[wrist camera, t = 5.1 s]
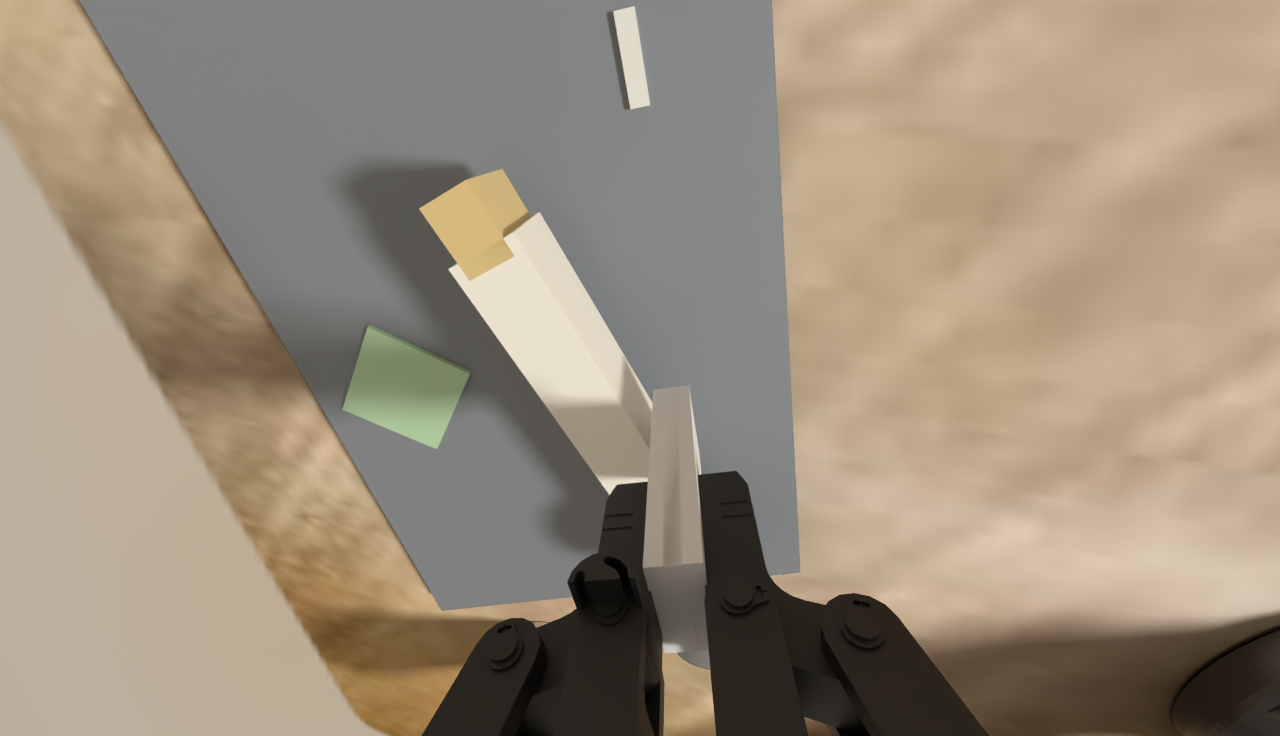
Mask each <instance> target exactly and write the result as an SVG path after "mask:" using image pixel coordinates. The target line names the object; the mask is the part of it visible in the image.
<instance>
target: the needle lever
mask: <svg viewBox="0 0 1280 736" xmlns="http://www.w3.org/2000/svg"><path fill="white" fill-rule="evenodd" d="M419 210H420V211H421V212H422V214H423V215H424V217H425V218H426V220H427V221H428V222H429V224H430V225H431V227H432V228H433V230H434V231H435V232H436V234H437V235H438V237H439V238H440V240H441V241H442V242H443V244H444V245H445V247H446V248H447V250H448V251H449V252H450V254H451V255H452V257H453V258H454V259H455V261H456V262H457V263H456V264H455V265H453V266H452V267H451V268H449V269H448V270H449V271H450V272H451V274H452V275H453V277H454V278H455V279H456V281H457V282H458V284H459V285H460V286H461V288H462V289H463V291H464V292H465V293H466V295H467V296H468V298H469V299H470V300H471V302H472V303H473V305H474V306H475V307H476V309H477V310H478V312H479V313H480V314H481V316H482V317H483V319H484V320H485V321H486V323H487V324H488V326H489V327H490V328H491V330H492V331H493V333H494V334H495V335H496V337H497V338H498V340H499V341H500V342H501V344H502V345H503V347H504V348H505V349H506V351H507V352H508V354H509V355H510V356H511V358H512V359H513V361H514V362H515V363H516V365H517V366H518V368H519V369H520V370H521V372H522V373H523V375H524V376H525V377H526V379H527V380H528V382H529V383H530V384H531V386H532V387H533V389H534V390H535V391H536V393H537V394H538V396H539V397H540V398H541V400H542V401H543V403H544V404H545V405H546V407H547V408H548V410H549V411H550V412H551V414H552V415H553V417H554V418H555V419H556V421H557V422H558V424H559V425H560V426H561V428H562V429H563V431H564V432H565V433H566V435H567V436H568V438H569V439H570V440H571V442H572V443H573V445H574V446H575V447H576V449H577V450H578V452H579V453H580V454H581V456H582V457H583V459H584V460H585V461H586V463H587V464H588V466H589V467H590V468H591V470H592V471H593V473H594V474H595V475H596V477H597V478H598V480H599V481H600V482H601V484H602V485H603V487H604V488H605V489H606V491H607V492H608V494H609V495H610V494H611V492H612V491H613V489H614V488H615V486H616V485H618V484H628V483H638V482H648V470H649V454H650V437H651V420H652V401H651V399H650V398H649V396H648V394H647V393H646V391H645V389H644V388H643V386H642V384H641V383H640V381H639V379H638V378H637V376H636V374H635V372H634V371H633V369H632V367H631V366H630V364H629V362H628V361H627V359H626V357H625V356H624V354H623V352H622V350H621V349H620V347H619V345H618V344H617V342H616V340H615V339H614V337H613V335H612V334H611V332H610V330H609V328H608V327H607V325H606V323H605V322H604V320H603V318H602V317H601V315H600V313H599V312H598V310H597V308H596V307H595V305H594V303H593V301H592V300H591V298H590V296H589V295H588V293H587V291H586V290H585V288H584V286H583V285H582V283H581V281H580V279H579V278H578V276H577V274H576V273H575V271H574V269H573V268H572V266H571V264H570V263H569V261H568V259H567V257H566V256H565V254H564V252H563V251H562V249H561V247H560V246H559V244H558V242H557V241H556V239H555V237H554V236H553V234H552V232H551V230H550V229H549V227H548V225H547V224H546V222H545V220H544V219H543V217H542V215H541V214H540V212H538V213H536V214H535V215H533V216H531V215H530V214H529V212H528V210H527V209H526V207H525V205H524V204H523V202H522V200H521V199H520V197H519V196H518V194H517V192H516V191H515V189H514V187H513V186H512V184H511V182H510V181H509V179H508V177H507V176H506V174H505V172H504V171H503V169H500V170H497V171H493V172H490V173H487V174H483V175H480V176H477V177H474V178H470V179H467V180H465V181H463V182H461V183H460V184H458V185H457V186H455V187H453V188H452V189H450V190H448V191H447V192H445V193H444V194H442V195H440V196H439V197H437V198H435V199H434V200H432V201H431V202H429V203H427V204H426V205H424V206H422V207H421V208H419ZM677 654H678V655H679V656H680V657H681V658H682V659H684V660H685V661H687V662H688V663H690V664H692V665H694V666H697V667H700V668H704V669H708V670H710V659H709V650H707V651H700V652H681V653H677Z"/></svg>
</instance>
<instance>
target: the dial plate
mask: <svg viewBox="0 0 1280 736" xmlns="http://www.w3.org/2000/svg"><path fill="white" fill-rule="evenodd" d="M79 1H80V3H81V5H82V6H83V8H84V10H85V11H86V13H87V15H88V16H89V18H90V20H91V21H92V23H93V25H94V26H95V28H96V30H97V31H98V33H99V35H100V37H101V38H102V40H103V42H104V43H105V45H106V47H107V48H108V50H109V52H110V53H111V55H112V57H113V58H114V60H115V62H116V63H117V65H118V67H119V68H120V70H121V72H122V74H123V75H124V77H125V79H126V80H127V82H128V84H129V85H130V87H131V89H132V90H133V92H134V94H135V95H136V97H137V99H138V100H139V102H140V104H141V105H142V107H143V109H144V111H145V112H146V114H147V116H148V117H149V119H150V121H151V122H152V124H153V126H154V127H155V129H156V131H157V132H158V134H159V136H160V137H161V139H162V141H163V142H164V144H165V146H166V148H167V149H168V151H169V153H170V154H171V156H172V158H173V159H174V161H175V163H176V164H177V166H178V168H179V169H180V171H181V173H182V174H183V176H184V178H185V179H186V181H187V183H188V185H189V186H190V188H191V190H192V191H193V193H194V195H195V196H196V198H197V200H198V201H199V203H200V205H201V206H202V208H203V210H204V211H205V213H206V215H207V216H208V218H209V220H210V222H211V223H212V225H213V227H214V228H215V230H216V232H217V233H218V235H219V237H220V238H221V240H222V242H223V243H224V245H225V247H226V248H227V250H228V252H229V253H230V255H231V257H232V259H233V260H234V262H235V264H236V265H237V267H238V269H239V270H240V272H241V274H242V275H243V277H244V279H245V280H246V282H247V284H248V285H249V287H250V289H251V291H252V292H253V294H254V296H255V297H256V299H257V301H258V302H259V304H260V306H261V307H262V309H263V311H264V312H265V314H266V316H267V317H268V319H269V321H270V322H271V324H272V326H273V328H274V329H275V331H276V333H277V334H278V336H279V338H280V339H281V341H282V343H283V344H284V346H285V348H286V349H287V351H288V353H289V354H290V356H291V358H292V359H293V361H294V363H295V365H296V366H297V368H298V370H299V371H300V373H301V375H302V376H303V378H304V380H305V381H306V383H307V385H308V386H309V388H310V390H311V391H312V393H313V395H314V396H315V398H316V400H317V402H318V403H319V405H320V407H321V408H322V410H323V412H324V413H325V415H326V417H327V418H328V420H329V422H330V423H331V425H332V427H333V428H334V430H335V432H336V433H337V435H338V437H339V439H340V440H341V442H342V444H343V445H344V447H345V449H346V450H347V452H348V454H349V455H350V457H351V459H352V460H353V462H354V464H355V465H356V467H357V469H358V470H359V472H360V474H361V476H362V477H363V479H364V481H365V482H366V484H367V486H368V487H369V489H370V491H371V492H372V494H373V496H374V497H375V499H376V501H377V502H378V504H379V506H380V507H381V509H382V511H383V513H384V514H385V516H386V518H387V519H388V521H389V523H390V524H391V526H392V528H393V529H394V531H395V533H396V534H397V536H398V538H399V539H400V541H401V543H402V544H403V546H404V548H405V550H406V551H407V553H408V555H409V556H410V558H411V560H412V561H413V563H414V565H415V566H416V568H417V570H418V571H419V573H420V575H421V576H422V578H423V580H424V581H425V583H426V585H427V587H428V588H429V590H430V592H431V593H432V595H433V597H434V598H435V600H436V602H437V603H438V605H439V607H440V608H441V610H442V611H444V610H453V609H462V608H472V607H481V606H490V605H500V604H509V603H518V602H528V601H537V600H546V599H556V598H565V597H572V594H571V591H570V589H569V586H568V583H567V581H568V579H569V577H570V574H571V572H572V570H573V569H574V568H575V567H576V566H577V565H578V564H579V563H580V562H581V561H582V560H584V559H585V558H587V557H589V556H591V555H592V554H596V553H598V550H599V544H600V538H601V532H602V525H603V519H604V513H605V507H606V501H607V498H608V497H609V494H608V492H607V491H606V489H605V488H604V487H603V485H602V484H601V482H600V481H599V480H598V478H597V477H596V475H595V474H594V473H593V471H592V470H591V468H590V467H589V466H588V464H587V463H586V461H585V460H584V459H583V457H582V456H581V454H580V453H579V452H578V450H577V449H576V447H575V446H574V445H573V443H572V442H571V440H570V439H569V438H568V436H567V435H566V433H565V432H564V431H563V429H562V428H561V426H560V425H559V424H558V422H557V421H556V419H555V418H554V417H553V415H552V414H551V412H550V411H549V410H548V408H547V407H546V405H545V404H544V403H543V401H542V400H541V398H540V397H539V396H538V394H537V393H536V391H535V390H534V389H533V387H532V386H531V384H530V383H529V382H528V380H527V379H526V377H525V376H524V375H523V373H522V372H521V370H520V369H519V368H518V366H517V365H516V363H515V362H514V361H513V359H512V358H511V356H510V355H509V354H508V352H507V351H506V349H505V348H504V347H503V345H502V344H501V342H500V341H499V340H498V338H497V337H496V335H495V334H494V333H493V331H492V330H491V328H490V327H489V326H488V324H487V323H486V321H485V320H484V319H483V317H482V316H481V314H480V313H479V312H478V310H477V309H476V307H475V306H474V305H473V303H472V302H471V300H470V299H469V298H468V296H467V295H466V293H465V292H464V291H463V289H462V288H461V286H460V285H459V284H458V282H457V281H456V279H455V278H454V277H453V275H452V274H451V272H450V271H449V270H448V269H449V268H451V267H452V266H453V265H455V264H456V263H457V262H456V261H455V259H454V258H453V257H452V255H451V254H450V252H449V251H448V250H447V248H446V247H445V245H444V244H443V242H442V241H441V240H440V238H439V237H438V235H437V234H436V232H435V231H434V230H433V228H432V227H431V225H430V224H429V222H428V221H427V220H426V218H425V217H424V215H423V214H422V212H421V211H420V210H419V208H421V207H422V206H424V205H426V204H427V203H429V202H431V201H432V200H434V199H435V198H437V197H439V196H440V195H442V194H444V193H445V192H447V191H448V190H450V189H452V188H453V187H455V186H457V185H458V184H460V183H461V182H463V181H465V180H467V179H470V178H474V177H477V176H480V175H483V174H487V173H490V172H493V171H497V170H500V169H503V171H504V172H505V174H506V176H507V177H508V179H509V181H510V182H511V184H512V186H513V187H514V189H515V191H516V192H517V194H518V196H519V197H520V199H521V200H522V202H523V204H524V205H525V207H526V209H527V210H528V212H529V214H530V215H531V216H533V215H535V214H536V213H538V212H540V214H541V215H542V217H543V219H544V220H545V222H546V224H547V225H548V227H549V229H550V230H551V232H552V234H553V236H554V237H555V239H556V241H557V242H558V244H559V246H560V247H561V249H562V251H563V252H564V254H565V256H566V257H567V259H568V261H569V263H570V264H571V266H572V268H573V269H574V271H575V273H576V274H577V276H578V278H579V279H580V281H581V283H582V285H583V286H584V288H585V290H586V291H587V293H588V295H589V296H590V298H591V300H592V301H593V303H594V305H595V307H596V308H597V310H598V312H599V313H600V315H601V317H602V318H603V320H604V322H605V323H606V325H607V327H608V328H609V330H610V332H611V334H612V335H613V337H614V339H615V340H616V342H617V344H618V345H619V347H620V349H621V350H622V352H623V354H624V356H625V357H626V359H627V361H628V362H629V364H630V366H631V367H632V369H633V371H634V372H635V374H636V376H637V378H638V379H639V381H640V383H641V384H642V386H643V388H644V389H645V391H646V393H647V394H648V396H649V398H650V399H651V401H652V403H653V390H656V389H664V388H670V387H677V386H685V385H689V389H690V395H691V402H692V408H693V415H694V421H695V428H696V434H697V441H698V447H699V454H700V464H701V474H710V473H719V472H729V471H737V472H738V473H739V474H740V475H741V477H742V478H743V479H744V480H745V481H746V482H747V484H748V487H749V492H750V497H751V502H752V506H753V510H754V516H755V520H756V524H757V529H758V533H759V538H760V542H761V547H762V552H763V556H764V561H765V565H766V569H767V571H768V574H769V576H770V575H780V574H789V573H798V572H800V556H799V536H798V516H797V496H796V476H795V456H794V436H793V416H792V396H791V376H790V356H789V336H788V316H787V296H786V276H785V256H784V236H783V216H782V196H781V176H780V156H779V136H778V116H777V96H776V76H775V56H774V36H773V16H772V0H79Z"/></svg>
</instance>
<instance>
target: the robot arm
mask: <svg viewBox="0 0 1280 736" xmlns="http://www.w3.org/2000/svg"><path fill="white" fill-rule="evenodd" d="M567 583H568V586H569V589H570V591H571V594H572V597H573V599H574V602H575V605H576V607H577V609H575V610H574V611H573V612H571V613H570V614H568V615H566V616H564V617H562V618H560V619H557V620H555V621H552V622H550V623H547V624H545V625H542V626H540V627H537V628H536V627H535V625H534V624H533V623H532V622H530V621H528V620H526V619H524V618H511V619H508V620H505V621H503V622H500V623H498V624H496V625H495V626H494V627H492V628H491V629H490V630H488V631H487V632H486V633H485V634H484V636H483V637H482V638H481V639H480V641H479V642H478V643H477V644H476V646H475V648H474V649H473V651H472V653H471V654H470V656H469V658H468V659H467V661H466V663H465V664H464V666H463V668H462V669H461V671H460V673H459V674H458V676H457V678H456V679H455V681H454V683H453V684H452V686H451V688H450V690H449V691H448V693H447V695H446V696H445V698H444V700H443V701H442V703H441V705H440V706H439V708H438V710H437V711H436V713H435V715H434V716H433V718H432V720H431V721H430V723H429V725H428V726H427V728H426V730H425V731H424V733H423V735H422V736H663V725H664V678H663V672H662V644H663V648H664V651H665V653H681V652H700V651H707V650H709V659H710V670H711V681H712V692H713V703H714V714H715V725H716V736H808V733H807V728H806V724H805V720H804V717H807V718H810V719H813V720H816V721H819V722H822V723H825V724H827V726H828V728H829V730H830V732H831V734H832V736H988V734H987V733H986V732H985V730H984V729H983V728H982V726H981V725H980V724H979V723H978V721H977V720H976V719H975V717H974V716H973V715H972V713H971V712H970V711H969V709H968V708H967V707H966V705H965V704H964V703H963V702H962V700H961V699H960V698H959V696H958V695H957V694H956V692H955V691H954V690H953V688H952V687H951V686H950V685H949V683H948V682H947V681H946V679H945V678H944V677H943V675H942V674H941V673H940V671H939V670H938V669H937V668H936V666H935V665H934V664H933V662H932V661H931V660H930V658H929V657H928V656H927V654H926V653H925V652H924V651H923V649H922V648H921V647H920V645H919V644H918V643H917V641H916V640H915V639H914V637H913V636H912V635H911V634H910V632H909V631H908V630H907V628H906V627H905V626H904V624H903V623H902V622H901V620H900V619H899V618H898V617H897V616H896V615H895V614H894V613H893V612H892V611H891V610H890V609H889V608H888V607H887V606H886V605H885V604H883V603H881V602H879V601H878V600H876V599H874V598H872V597H870V596H865V595H860V594H856V593H852V594H843V595H839V596H837V597H835V598H834V599H832V600H830V601H828V603H827V604H826V605H822V604H818V603H814V602H810V601H805V600H802V599H799V598H796V597H793V596H791V595H789V594H788V593H786V592H784V591H783V590H781V589H780V588H779V587H778V586H777V585H776V584H775V583H774V582H773V580H772V579H771V577H770V576H769V574H768V571H767V569H766V565H765V561H764V556H763V552H762V547H761V542H760V538H759V533H758V529H757V524H756V520H755V516H754V510H753V506H752V502H751V497H750V492H749V487H748V484H747V482H746V481H745V480H744V479H743V478H742V477H741V475H740V474H739V473H738V472H737V471H729V472H719V473H710V474H701V464H700V454H699V447H698V441H697V434H696V428H695V421H694V415H693V408H692V402H691V395H690V389H689V385H685V386H677V387H670V388H664V389H656V390H653V403H652V420H651V437H650V454H649V470H648V482H638V483H628V484H618V485H616V486H615V488H614V489H613V491H612V492H611V494H610V495H609V497H608V498H607V501H606V507H605V513H604V519H603V525H602V532H601V538H600V544H599V550H598V553H596V554H592V555H591V556H589V557H587V558H585V559H584V560H582V561H581V562H580V563H579V564H578V565H577V566H576V567H575V568H574V569H573V570H572V572H571V574H570V577H569V579H568V581H567ZM1172 718H1173V723H1174V726H1175V727H1176V729H1177V730H1178V732H1179V733H1180V734H1181V735H1182V736H1280V630H1279V631H1276V632H1274V633H1271V634H1269V635H1266V636H1264V637H1261V638H1259V639H1257V640H1255V641H1253V642H1250V643H1248V644H1246V645H1244V646H1242V647H1240V648H1238V649H1236V650H1235V651H1233V652H1231V653H1229V654H1227V655H1226V656H1224V657H1222V658H1221V659H1219V660H1218V661H1216V662H1215V663H1213V664H1212V665H1210V666H1209V667H1207V668H1206V669H1205V670H1203V671H1202V672H1201V673H1200V674H1198V675H1197V676H1196V677H1195V678H1194V679H1193V680H1192V681H1191V682H1190V683H1189V684H1188V685H1187V686H1186V687H1185V688H1184V690H1183V691H1182V692H1181V694H1180V695H1179V697H1178V698H1177V700H1176V702H1175V705H1174V707H1173V712H1172Z"/></svg>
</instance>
